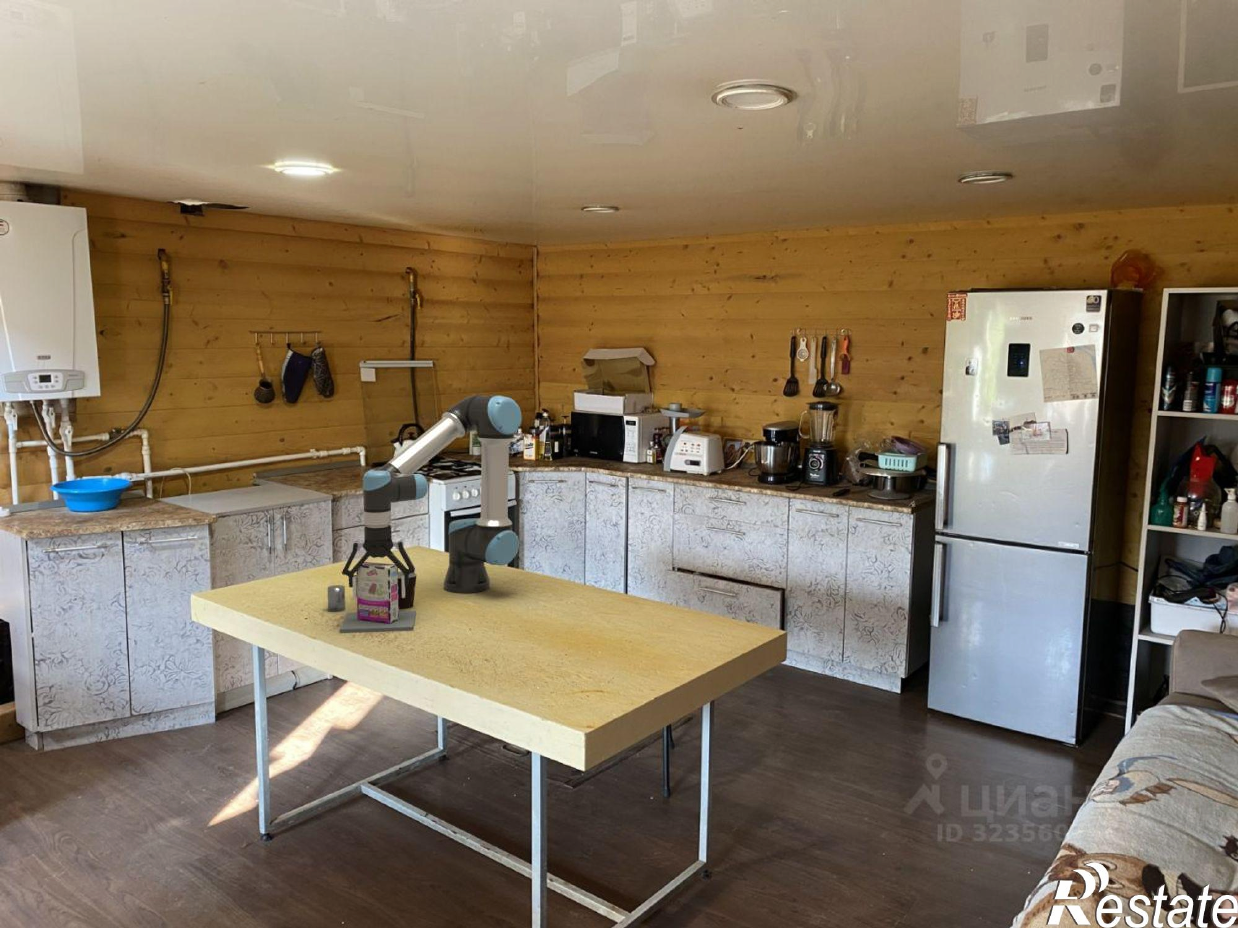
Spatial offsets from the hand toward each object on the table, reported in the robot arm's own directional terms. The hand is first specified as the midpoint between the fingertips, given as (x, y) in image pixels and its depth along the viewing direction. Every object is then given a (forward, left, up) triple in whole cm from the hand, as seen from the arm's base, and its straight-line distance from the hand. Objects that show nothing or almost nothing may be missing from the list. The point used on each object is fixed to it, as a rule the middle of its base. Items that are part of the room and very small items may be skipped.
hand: (379, 597), depth 259 cm
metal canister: (+14, -15, -8) cm, 22 cm away
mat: (0, 0, -8) cm, 8 cm away
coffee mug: (-6, -18, -8) cm, 20 cm away
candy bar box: (0, 0, -7) cm, 7 cm away
